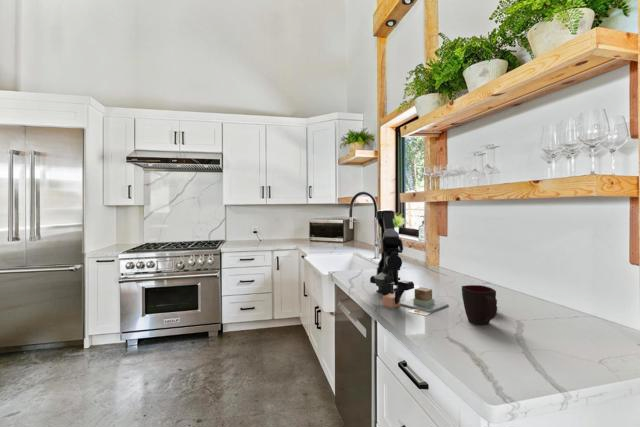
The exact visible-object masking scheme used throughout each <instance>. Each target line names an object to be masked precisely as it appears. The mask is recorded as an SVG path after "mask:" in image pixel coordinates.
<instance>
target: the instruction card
mask: <svg viewBox="0 0 640 427" xmlns="http://www.w3.org/2000/svg"><path fill="white" fill-rule="evenodd" d="M408 313H410V314H416V315H420V316H425V317H427V316H428V315H430V314H431V313H429V312H425V311H421V310H418V309H413V308H412V309H411V310H409V311H408Z"/></svg>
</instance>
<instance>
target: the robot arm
mask: <svg viewBox="0 0 640 427" xmlns="http://www.w3.org/2000/svg"><path fill="white" fill-rule="evenodd" d="M395 213H396V212H395V211H394V210H392V209H379V210H378V211H376V213H375V219H376V220H377V221H376V222H377V225H378V226H379V228H380V255H381V256H380V257H381V258H380V260H379V261H378V263H377V264H378V265H377V267H376V272H375V273H376V275H375V274H374V275H371V277H370V278H369V283H370V284H375V286H376V287H378V289H377V290H376V291H375V292H377V293H381V294H382V296H383V295H387V294H392V293H394V295H395V304H398V302H399V300H400V301H401V298H402V296H403V294H404V292H405V291H406V292H407V291H409V290H413V289H414V290H415V283H414V282H413V281H412V280H407V279H405V280H401V277H399V271H401V267H402V266H403V260H402V257H400V256H399V254H402V253H403V251H404V247H403V246H404V245H403V241H402V238H400V235H399V232H398V231H396V230H395V224H394V220H395ZM394 286H396V287H394Z"/></svg>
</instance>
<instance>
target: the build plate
mask: <svg viewBox="0 0 640 427" xmlns="http://www.w3.org/2000/svg"><path fill="white" fill-rule="evenodd" d="M400 306H402V307H406V308H411V309H412V310H413V309H418V310H421V311H425V312H429V313H430V314H432V313H433V312H434V313H435V312H437V311H439V310H442V309H444V308H447V307H449V303H446V302H442V301H438V300H435V298H433V297H432V299H431V300H428V301H422V300H418V299H415V297H414V298H411V299H408V300H405V301H402V302H401V301H400Z"/></svg>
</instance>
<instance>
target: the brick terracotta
mask: <svg viewBox="0 0 640 427" xmlns="http://www.w3.org/2000/svg"><path fill="white" fill-rule="evenodd" d="M400 303H401V299H400V300H399V302H398V304H395V293H394V294H392V293H389V294H387V295H383V294H382V306H383V307H388V308H391V309H393V308H396V307H400V306H401V305H400Z"/></svg>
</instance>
